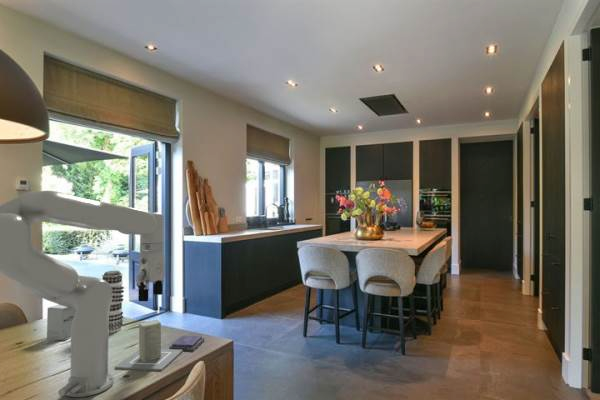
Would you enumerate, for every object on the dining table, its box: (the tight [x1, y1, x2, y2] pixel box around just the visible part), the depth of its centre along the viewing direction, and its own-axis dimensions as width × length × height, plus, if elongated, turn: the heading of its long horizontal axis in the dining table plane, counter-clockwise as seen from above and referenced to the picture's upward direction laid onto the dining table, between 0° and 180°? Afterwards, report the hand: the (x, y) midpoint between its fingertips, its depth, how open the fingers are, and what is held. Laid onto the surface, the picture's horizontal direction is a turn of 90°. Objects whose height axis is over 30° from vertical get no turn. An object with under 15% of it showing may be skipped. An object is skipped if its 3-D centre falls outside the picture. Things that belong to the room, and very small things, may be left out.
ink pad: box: [169, 335, 205, 352], centre depth 137 cm, size 10×9×2 cm
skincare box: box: [138, 319, 162, 362], centre depth 123 cm, size 6×4×12 cm
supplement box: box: [46, 304, 76, 341], centre depth 147 cm, size 7×7×13 cm
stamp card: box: [114, 348, 184, 372], centre depth 124 cm, size 16×16×1 cm
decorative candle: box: [101, 270, 125, 334], centre depth 155 cm, size 9×9×25 cm
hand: (150, 297), depth 124 cm, fingers open, 9 cm apart
